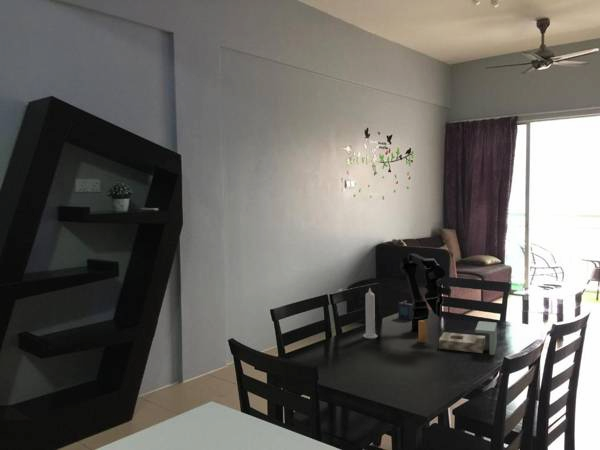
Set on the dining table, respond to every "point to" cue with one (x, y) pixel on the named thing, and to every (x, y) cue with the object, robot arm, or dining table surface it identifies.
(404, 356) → the dining table surface
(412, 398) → the dining table surface
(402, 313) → the flask
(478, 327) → the upright pale grey block
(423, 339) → the peg
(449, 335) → the socket block
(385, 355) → the dining table surface
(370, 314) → the candle
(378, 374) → the dining table surface
